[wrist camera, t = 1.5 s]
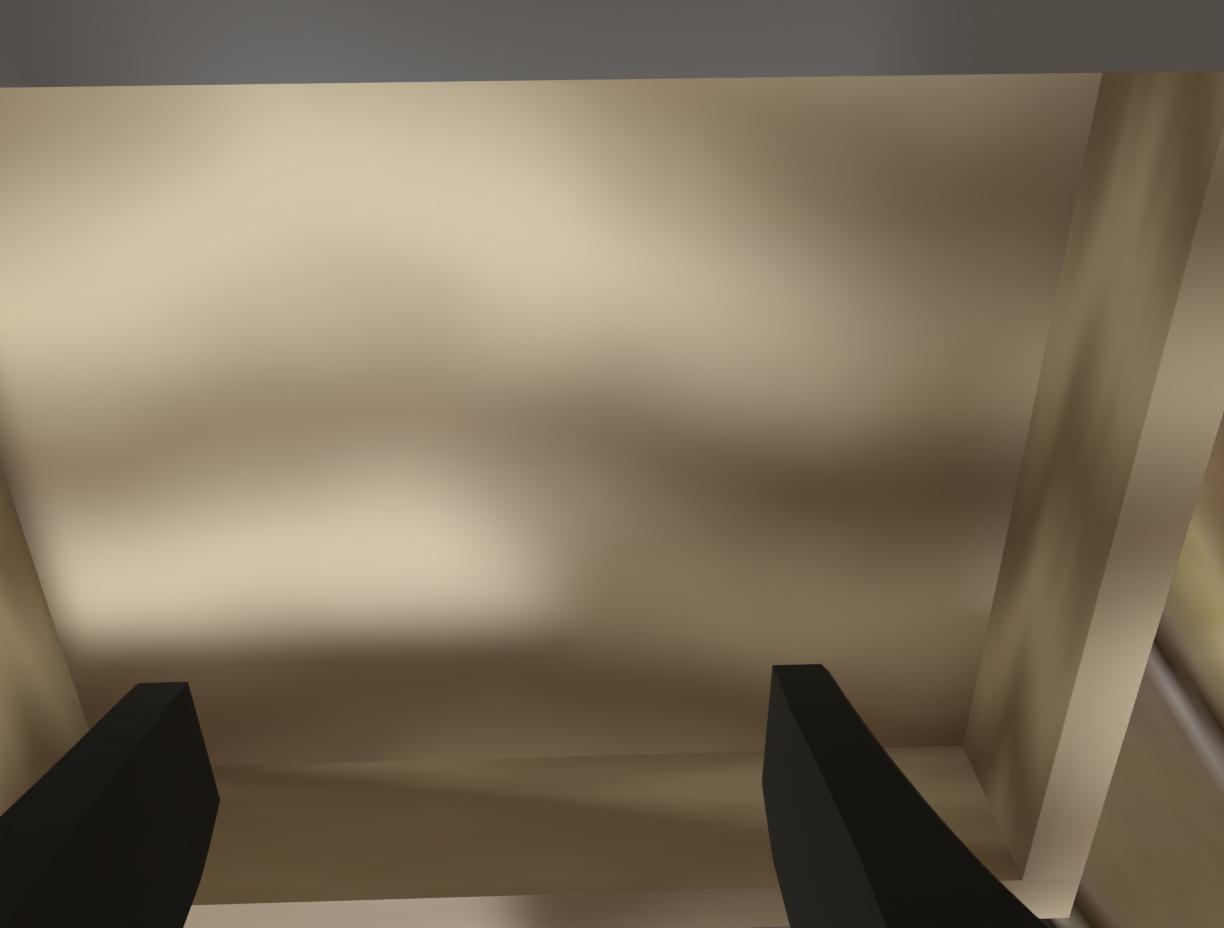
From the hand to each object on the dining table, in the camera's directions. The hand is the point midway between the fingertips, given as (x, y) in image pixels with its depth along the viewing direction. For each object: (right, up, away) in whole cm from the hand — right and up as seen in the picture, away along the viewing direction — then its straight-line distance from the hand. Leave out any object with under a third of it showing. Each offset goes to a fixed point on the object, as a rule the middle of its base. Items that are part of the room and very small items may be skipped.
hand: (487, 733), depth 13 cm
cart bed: (0, +4, +9) cm, 10 cm away
